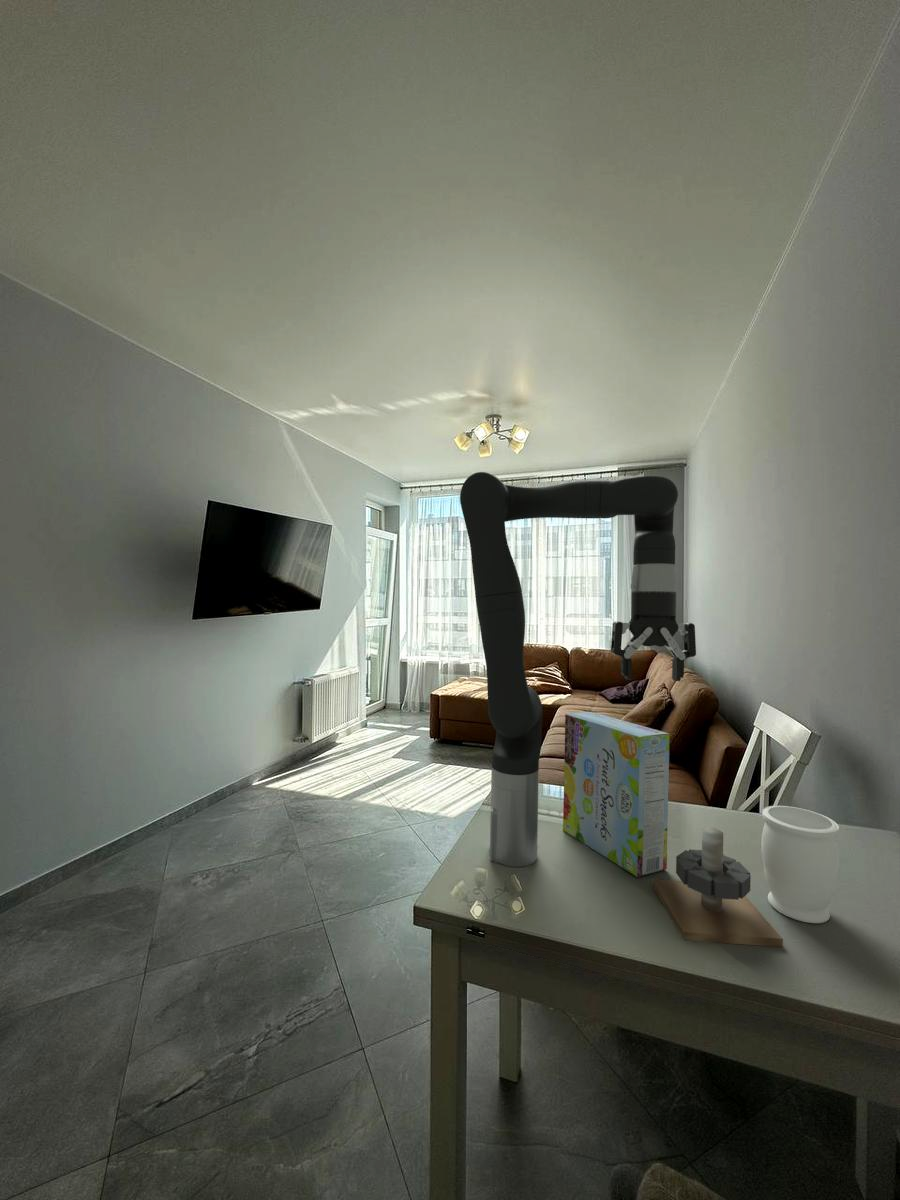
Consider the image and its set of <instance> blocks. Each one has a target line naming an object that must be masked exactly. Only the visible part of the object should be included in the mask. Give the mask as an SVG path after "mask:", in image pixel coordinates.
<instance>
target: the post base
mask: <svg viewBox="0 0 900 1200" xmlns="http://www.w3.org/2000/svg"><path fill="white" fill-rule="evenodd" d="M701 830H702V831H701V832H702V834H701V837H702V838H701V850H702V866H701V868H702V869H705V870H707V871H710V872H712V873H724V872H723V855H724V832H723V831H721V830H720V829H717V828H714V827H704V828H702V829H701ZM652 887H653V890H654V891H655V893H656V895H657V896H658V898H659V900H660V902H661V903H662V905H663V907H664V908H665V910H666V912H667V914H668V915H669V917H670V919H671V921H672V923H673V924H674V926H675V927H676V929H677V931H678V933H679V935H680V936H681V938H682V940H683V941H690V942H691V941H692V942H705V943H720V944H731V945H732V944H734V945H735V944H736V945H745V946H747V945H748V946H750V945H751V946H761V947H762V946H764V947H775V948H777V947H779V948H783V947H784V946H783V945H784V938H783V937H782V936H781V935H780V933H779V932H777V930H776V929H775V928H774V927H773V926H772V925H771V923H770V922H769V921H768V920H767V918H766V917H764V915H763V914H762V913H761V912H760V911H759V910H758V908H757V907H756V906H755V905H754V904H753V903H752V901H751V900H750V899H749V898H748V897H747V895H746V896H745V897H744V898H743V899H741V898H739V900H735V899H719V898H715V897H714V896H713V895H712V896H711V897H709V896H707V895H705V894H702V893H700V892H698V891H696V890H693V889H691V888H689V887H687V885H684V884H683V882H682V881H681V880H672V879H671V880H670V879H669V880H668V879H653V878H652Z"/></svg>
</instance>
